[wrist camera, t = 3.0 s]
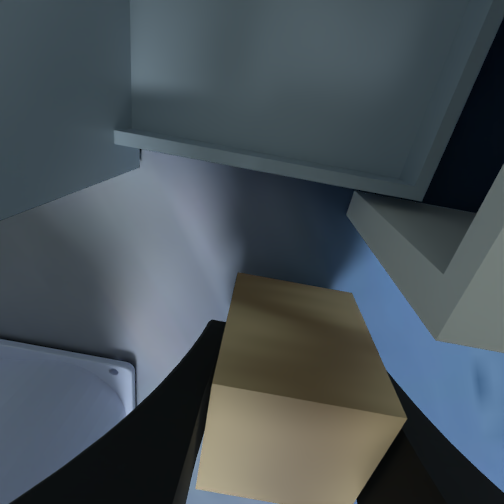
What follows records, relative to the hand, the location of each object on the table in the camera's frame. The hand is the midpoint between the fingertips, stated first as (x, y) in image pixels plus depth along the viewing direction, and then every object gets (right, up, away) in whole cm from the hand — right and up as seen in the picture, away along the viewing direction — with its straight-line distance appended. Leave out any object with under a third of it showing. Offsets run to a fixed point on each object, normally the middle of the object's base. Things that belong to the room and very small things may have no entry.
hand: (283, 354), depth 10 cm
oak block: (0, +1, +1) cm, 2 cm away
